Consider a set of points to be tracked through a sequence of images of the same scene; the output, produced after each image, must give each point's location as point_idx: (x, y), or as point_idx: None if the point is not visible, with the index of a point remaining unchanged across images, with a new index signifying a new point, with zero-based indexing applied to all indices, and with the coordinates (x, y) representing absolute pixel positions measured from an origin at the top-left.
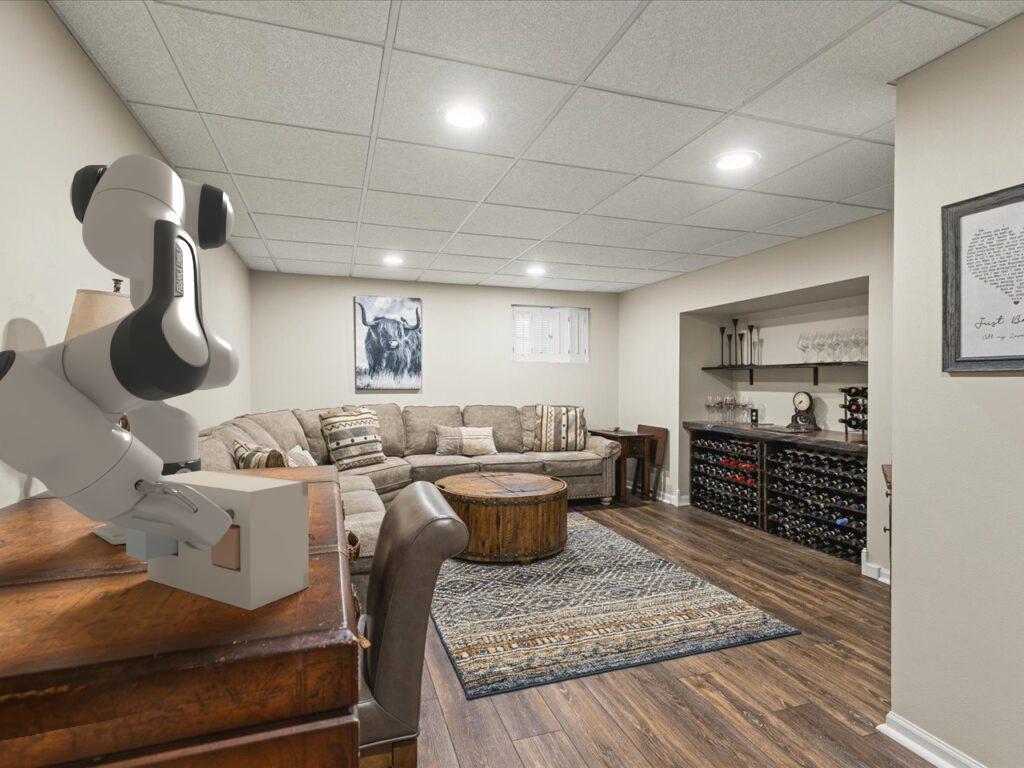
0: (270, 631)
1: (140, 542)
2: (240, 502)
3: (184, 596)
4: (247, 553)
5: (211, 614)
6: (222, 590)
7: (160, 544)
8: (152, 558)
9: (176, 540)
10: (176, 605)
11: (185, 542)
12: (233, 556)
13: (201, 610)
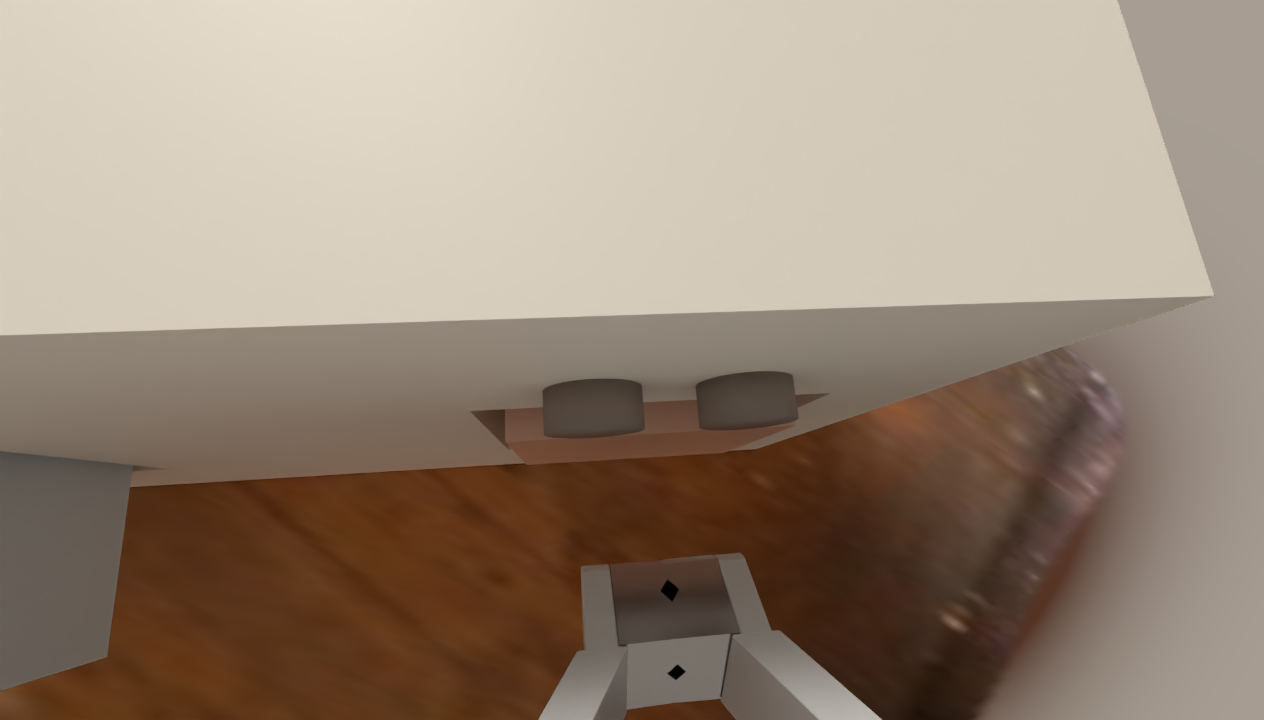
0: (966, 510)
1: None
2: (945, 346)
3: (380, 509)
4: (828, 419)
5: (665, 546)
6: None
7: (54, 572)
8: (109, 614)
9: (70, 460)
10: (451, 578)
11: (626, 705)
12: (729, 446)
13: (594, 547)
